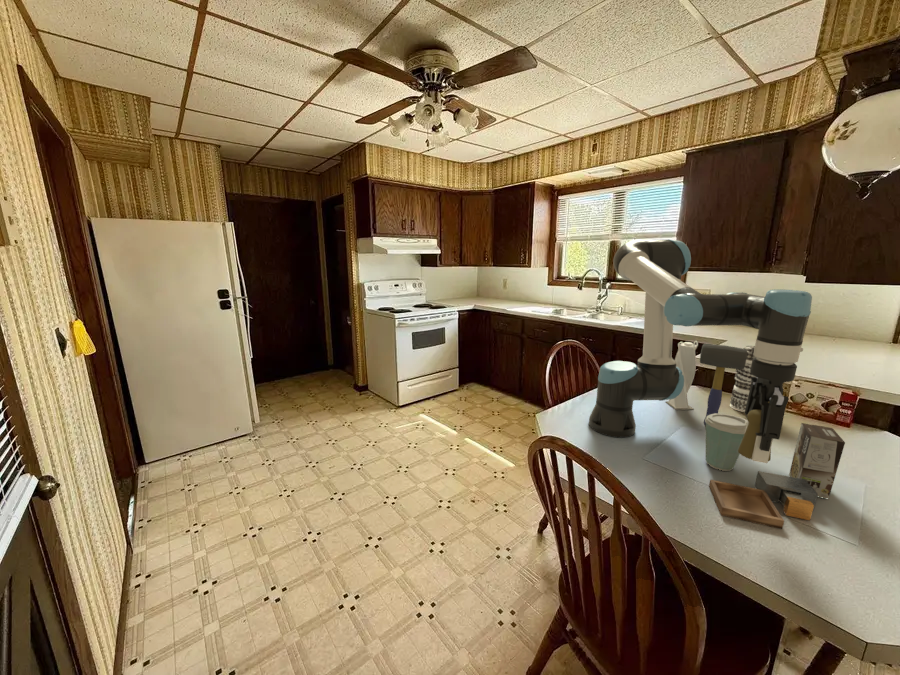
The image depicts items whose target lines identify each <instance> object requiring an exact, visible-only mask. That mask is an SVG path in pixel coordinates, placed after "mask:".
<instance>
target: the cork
mask: <svg viewBox="0 0 900 675" xmlns="http://www.w3.org/2000/svg"><path fill="white" fill-rule="evenodd" d="M746 420H748V422H749V424H748V427H747V429H746V432H745V434H744V437H743V439H742V442H741V444H740V446H739V449H738V452H739V453H740V454H739V455H741V456H742V457H744V458H746V459H748V460H751V461H753V460H752V455H753V450H754V446H755V441H756V433H760V422H761V410H751V411H750V412H749V413H748V416H747V415H746ZM755 432H756V433H755ZM771 453H772V449H771V450H770V454H769V459H768V462H770V461H771V458H772V457H771Z"/></svg>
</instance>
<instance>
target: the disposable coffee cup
mask: <svg viewBox="0 0 900 675" xmlns="http://www.w3.org/2000/svg"><path fill="white" fill-rule="evenodd" d="M705 417H706V416H705ZM704 419H705V418H704ZM747 421H748V420H747V418H746V419H745V418H744V417H740V416H737V415H733V414H729V413H719V412H718V413H714V414H710V415H708V416H707V417H706V419H705V422H706V427H705V461H706V462H707V463H706V464H707V465H708V464H709V465H710V468H711V467H712V468H713V469H716V470H718V469H719V471H721V470H722V471H723V472H729V471H732V470H733V469H734V468H735V466H736V463H737V461H738V459H739V456H740V455H741V454H740V453H739V452H738V449H739V446H740V444H741V442H742V439H743V437H744V434H745V429H746V425H747ZM709 465H708V466H709Z"/></svg>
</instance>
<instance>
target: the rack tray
mask: <svg viewBox="0 0 900 675" xmlns="http://www.w3.org/2000/svg"><path fill="white" fill-rule="evenodd" d="M708 488H709V490H710V492H711V496H712V498H713V499H714V502H715V503H714V504H715V505H716V507H717V509H718V512H719V514H720V516H723V517H727V518H731V519H734V520H740V521H745V522H749V523H754V524H758V525H761V526H765V527H766V526H767V527H771V528H775V529H780V530H783V527H784V523H785V519H784V518H783V516H782V515H781V514H780V512H779V510H778V509H777V507H776V506H775V504H774V502H772V501H771V499H770V498H769V496H768V495H767V493H766V492H765V491H764V490H760V489H756V487H749V486H745V485H739V484H734V483H729V482H725V481H720V480H715V479H709V484H708Z"/></svg>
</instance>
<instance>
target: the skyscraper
mask: <svg viewBox="0 0 900 675" xmlns="http://www.w3.org/2000/svg"><path fill="white" fill-rule="evenodd" d="M677 347H678V349H677V352H676V355H675V357H674V360H675V361H676V367H678V368H680V369H681V371H682V375H683V376H684V386H683V389H682V391H681V393H680V394H679V395H678V396H677V397H676V398H674V399H670V400H668V401H667V400H665V403H666V404H667V405H668V406H670V407H671V408H673V410H675V411H676V410H677V411H678V410H679V411H681V410H684V411H685V410H686V411H688V410H690V411H691V410H693V411H694V408H693V407H692V406H690V405H689V401H688V399H689V398H688V392H689V391H690V389H691V386H692V384H693V382H694V379H695V374H696V371H697V370H696V368H697V361H696V360H697V357H696V356H697V355H696V350H697V349H698V347H699V342H698V341H697V340H694V341H693V342H690V341H685V342H683V341H680V342H678V343H677Z"/></svg>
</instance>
